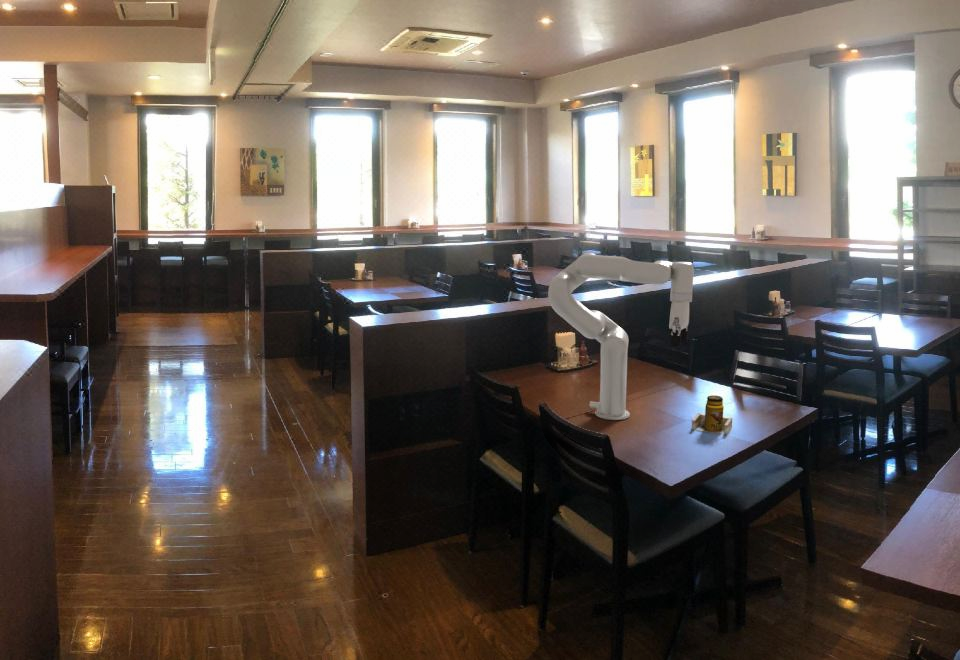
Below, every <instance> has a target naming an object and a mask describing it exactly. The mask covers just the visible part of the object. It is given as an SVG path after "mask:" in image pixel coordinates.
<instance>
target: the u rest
mask: <svg viewBox="0 0 960 660" xmlns="http://www.w3.org/2000/svg"><path fill="white" fill-rule="evenodd" d="M701 424H705V413H699V412H698V413H697V414H696V415H695V416H694V418H692V420H691V431H696V430H697V429H698V427H699V426H700V425H701ZM722 427H723V428H724V430H723V435H724V436H727V435H728V434H729V433H730V432H731V429H732V428H733V417H726V416H723V424H722Z"/></svg>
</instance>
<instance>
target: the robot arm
mask: <svg viewBox="0 0 960 660" xmlns="http://www.w3.org/2000/svg"><path fill="white" fill-rule="evenodd" d="M694 267H695V266H694V264H693V263H692V262H690V261H675V262H673V261H669V260H656V261H654V262H648V261H647V262H645V261H636V260H633V259H629V258H627V257H624V256H616V255H615V256H614V255H603V254H595V253H593V252H584V253H583V254H581V255H580V256H579V257H578V258H577V259H575V260H574V261H573V262H572V263H571V264H569V265H568V266H566V267H565V268H564V269H562V270H561V271H560V272H558V274H557V275H555V276H554V277H553V278H552V279H551V281H550V283H549V285H548V291H547V293H548V294H547V296H548V297H547V298H548V301H549V303H550V306H551V308H552V310H553V311H554V312H555V313H556V314H557V315H559V316H560V318H562V319H563V320H565V321H566V323H568V324H569V325H570V326H571V327H573V328H574V329H575V330H576V331H578V332H579V333H580V334H581V335H582V336H583V337H585V338H586V339H590V340H594V339H595V340H596V341H597V342H598V343H600V383H599V384H600V387H599V388H600V389H599V390H600V391H599V401H598V402H597V401H589V407H590V408H591V409H596V410H595V411H594V412H595V416H597V417H598V418H600V419H601V420H602V419H603V420H610V421H618V420H620V421H622V420H626V419H628V418H630V411H628V410H627V408H626V405H627V404H626V403H627V402H626V401H627V378H628V377H627V375H628V374H627V373H628V353H629V351H628V349H629V341H630V340H629V335H628V333H627V332H626V331H625V330H624V328H622V327H620V326H619V325H618V324H617V323H616V322H614V321H613V320H612V319H610V318H609V317H608V316H607V315H606V314H604V313H603V312H601V311H599V310H595V309H588V307H586V306H585V305H584V304H582V303H581V302H580V301H579V300H577V299H576V298H575V297H574V296H573V295H572V293H573V292H574V290H576V289H577V288H579V287H580V286H581V285H582V284H583V283H585V282H586V281H588V280H589V279H597V280H599V279H600V280H609V281H610V280H611V281H621V282H626V283H627V282H630V283H636V284H646V285H647V284H648V285H663V284H666V283H667V282H668V281H670V294H669V295H670V297H669V301H670V302H671V306H670V311H669V312H670V313H669V314H670V315H669V321H668V322H669V324H668V327H669V329H670V330H671V334H670V335H671V336H670V337H671V338H670V346H671V347H674V348H680V347H681V342H683V343H686V342H687V341H688V326H689V323H690V303H692V302H693V289H694V288H693V286H694Z"/></svg>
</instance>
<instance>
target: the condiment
mask: <svg viewBox="0 0 960 660" xmlns="http://www.w3.org/2000/svg"><path fill="white" fill-rule="evenodd" d="M706 399H707V400H706V404H705V407H704V408H705V411H704V414H705V424H699V425H698V426H697V428H696V431H699V432H706V433H712V434H718V435H721V434H722V433H724V427H722V424H723V417H724V404H723V403H724V402H723V401H724V399H723V397H722V396H720V395H712V394H711V395H709V396H707V397H706Z"/></svg>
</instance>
